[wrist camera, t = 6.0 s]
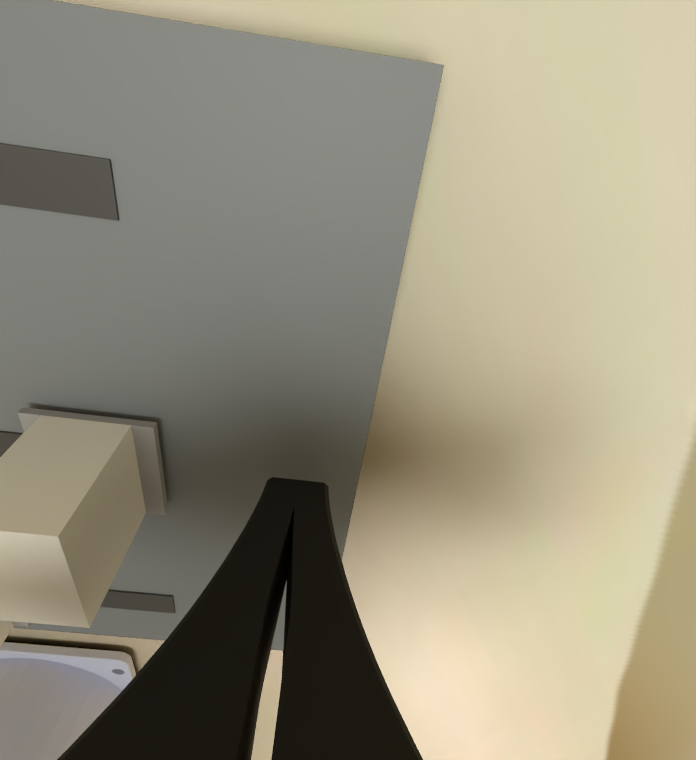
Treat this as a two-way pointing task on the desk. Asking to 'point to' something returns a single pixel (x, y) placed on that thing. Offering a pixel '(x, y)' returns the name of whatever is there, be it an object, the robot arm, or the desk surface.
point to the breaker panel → (201, 263)
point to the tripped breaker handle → (72, 511)
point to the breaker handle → (9, 628)
